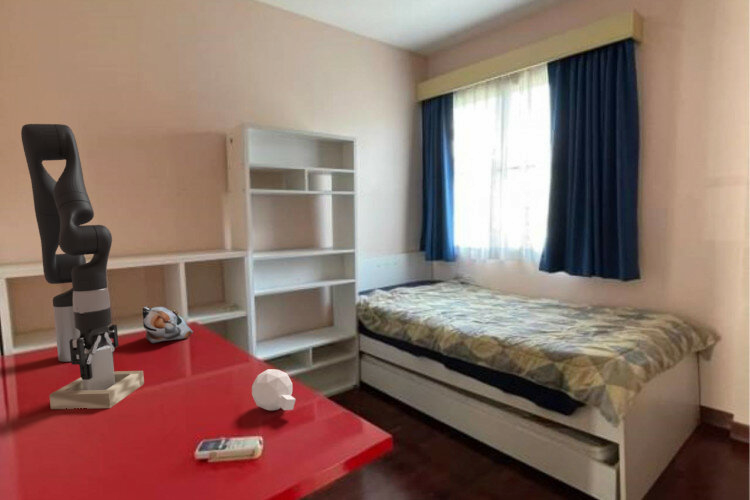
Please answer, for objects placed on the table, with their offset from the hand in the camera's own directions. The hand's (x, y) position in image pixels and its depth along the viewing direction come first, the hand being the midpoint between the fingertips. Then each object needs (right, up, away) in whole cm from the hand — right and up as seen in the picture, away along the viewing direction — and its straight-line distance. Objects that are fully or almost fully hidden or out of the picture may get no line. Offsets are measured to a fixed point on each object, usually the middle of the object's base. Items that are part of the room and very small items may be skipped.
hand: (98, 372), depth 105 cm
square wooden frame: (0, -6, +1) cm, 6 cm away
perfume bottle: (+46, -6, -11) cm, 48 cm away
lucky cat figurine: (-6, -2, +47) cm, 48 cm away
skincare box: (0, -6, 0) cm, 6 cm away
